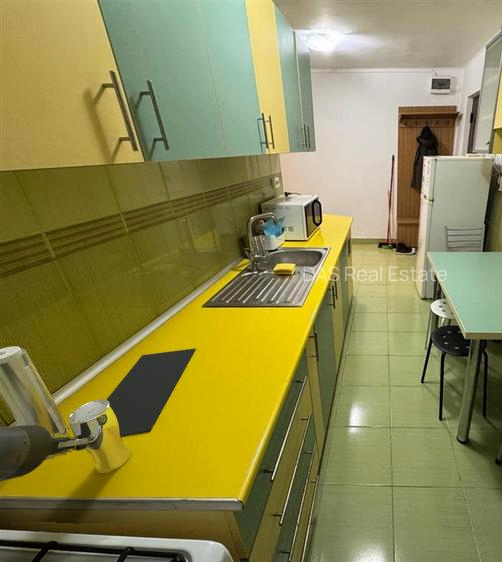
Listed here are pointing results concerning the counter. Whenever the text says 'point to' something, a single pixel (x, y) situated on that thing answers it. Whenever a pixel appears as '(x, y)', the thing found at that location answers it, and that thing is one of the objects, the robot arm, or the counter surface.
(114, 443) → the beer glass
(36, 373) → the silver metal cylinder
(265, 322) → the counter surface
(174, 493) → the counter surface
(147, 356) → the mat
